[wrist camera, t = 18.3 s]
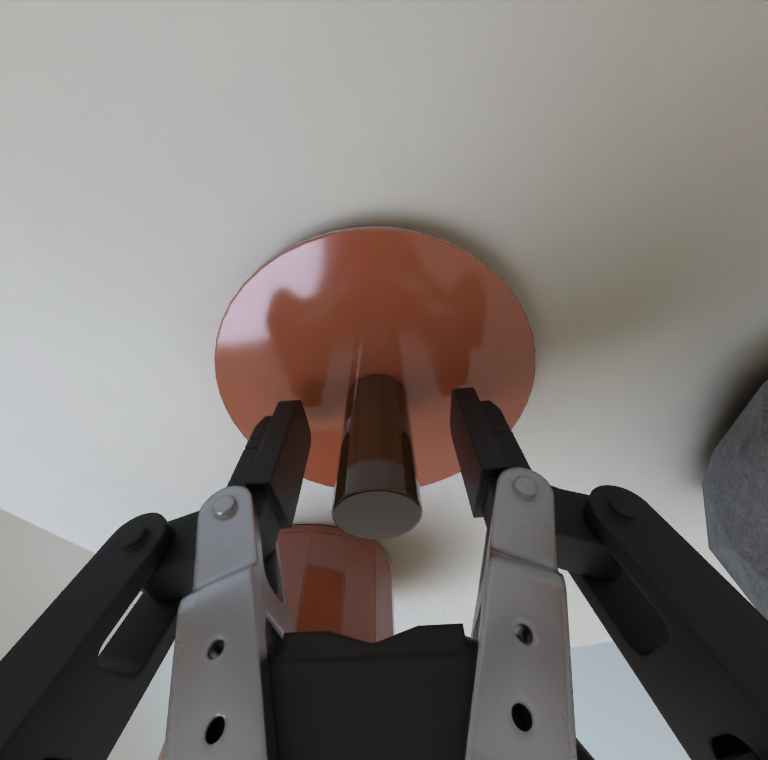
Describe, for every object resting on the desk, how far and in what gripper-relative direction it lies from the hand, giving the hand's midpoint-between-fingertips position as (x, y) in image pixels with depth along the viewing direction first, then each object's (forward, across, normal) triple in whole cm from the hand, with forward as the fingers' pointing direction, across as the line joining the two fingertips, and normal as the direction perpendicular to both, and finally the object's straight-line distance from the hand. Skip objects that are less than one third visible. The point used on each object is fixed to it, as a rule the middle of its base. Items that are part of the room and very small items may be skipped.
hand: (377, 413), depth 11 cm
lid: (+1, 0, 0) cm, 1 cm away
